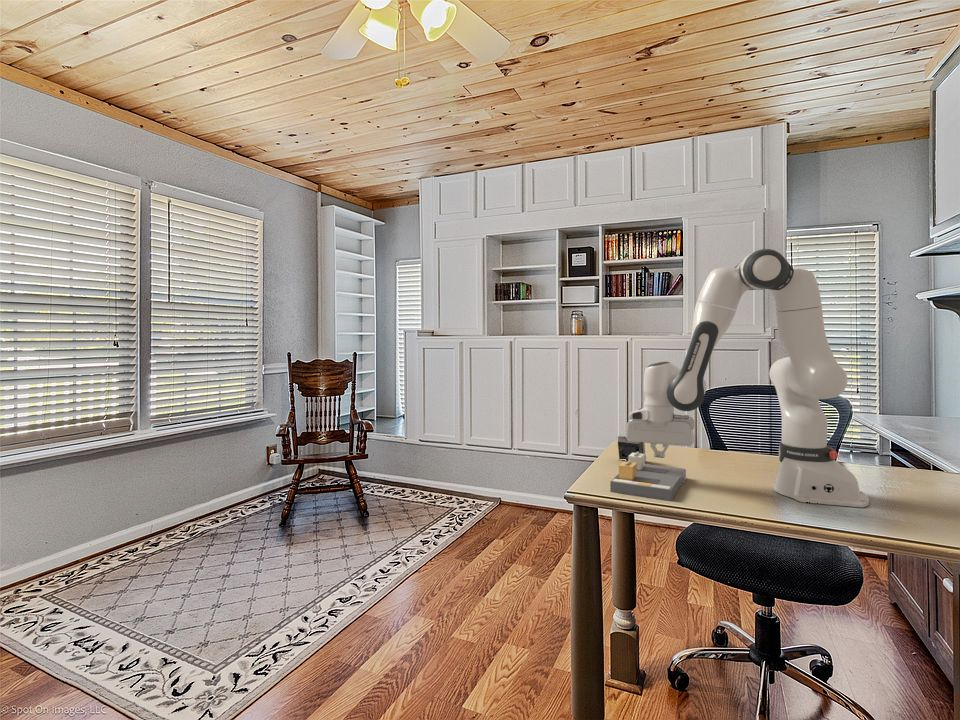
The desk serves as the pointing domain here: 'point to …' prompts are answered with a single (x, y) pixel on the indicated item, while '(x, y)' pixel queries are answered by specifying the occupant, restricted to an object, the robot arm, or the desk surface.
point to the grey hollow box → (629, 447)
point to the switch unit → (651, 482)
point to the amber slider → (627, 470)
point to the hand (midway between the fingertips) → (659, 457)
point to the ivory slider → (637, 459)
